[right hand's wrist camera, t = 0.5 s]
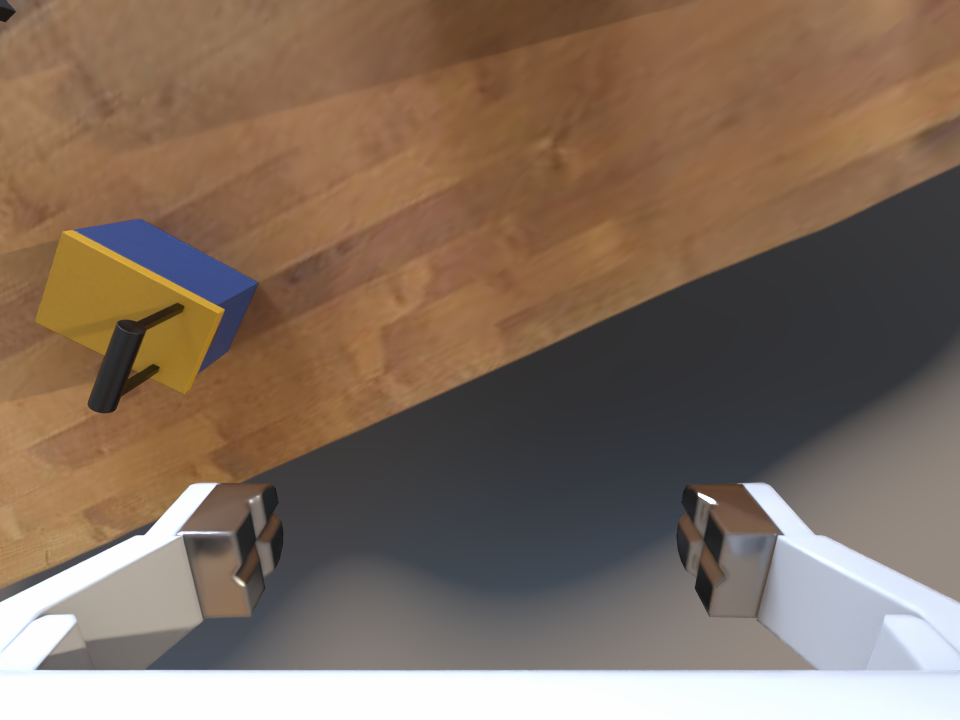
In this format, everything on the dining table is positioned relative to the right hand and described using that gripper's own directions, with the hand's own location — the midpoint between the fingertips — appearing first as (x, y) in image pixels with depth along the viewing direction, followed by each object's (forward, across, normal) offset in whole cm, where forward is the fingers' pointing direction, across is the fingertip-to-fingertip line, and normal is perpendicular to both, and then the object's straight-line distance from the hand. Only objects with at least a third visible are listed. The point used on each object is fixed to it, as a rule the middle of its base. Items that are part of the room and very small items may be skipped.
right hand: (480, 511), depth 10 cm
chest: (+47, +32, +6) cm, 57 cm away
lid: (+38, +32, +7) cm, 50 cm away
